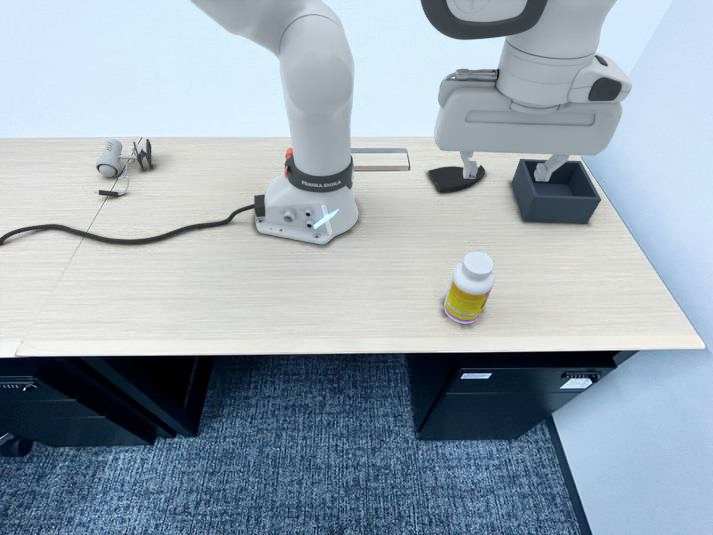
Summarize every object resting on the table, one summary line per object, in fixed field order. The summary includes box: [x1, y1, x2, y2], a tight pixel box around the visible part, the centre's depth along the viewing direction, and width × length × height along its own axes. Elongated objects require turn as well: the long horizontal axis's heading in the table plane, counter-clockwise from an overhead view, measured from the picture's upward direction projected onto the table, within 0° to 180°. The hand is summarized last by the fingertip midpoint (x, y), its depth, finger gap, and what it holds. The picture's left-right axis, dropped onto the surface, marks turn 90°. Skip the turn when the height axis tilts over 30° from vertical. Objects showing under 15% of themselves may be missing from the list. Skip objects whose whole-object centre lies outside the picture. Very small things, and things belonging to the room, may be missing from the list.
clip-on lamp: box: [94, 138, 154, 198], centre depth 95 cm, size 12×6×18 cm
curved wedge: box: [428, 164, 486, 194], centre depth 96 cm, size 8×14×2 cm, turn 103°
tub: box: [511, 158, 602, 225], centre depth 88 cm, size 14×14×7 cm
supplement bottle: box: [443, 251, 495, 325], centre depth 67 cm, size 7×7×13 cm
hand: (504, 177), depth 53 cm, fingers open, 8 cm apart
